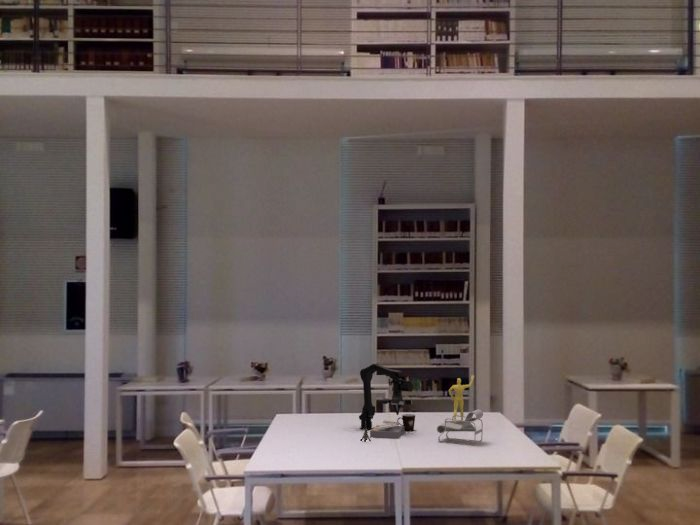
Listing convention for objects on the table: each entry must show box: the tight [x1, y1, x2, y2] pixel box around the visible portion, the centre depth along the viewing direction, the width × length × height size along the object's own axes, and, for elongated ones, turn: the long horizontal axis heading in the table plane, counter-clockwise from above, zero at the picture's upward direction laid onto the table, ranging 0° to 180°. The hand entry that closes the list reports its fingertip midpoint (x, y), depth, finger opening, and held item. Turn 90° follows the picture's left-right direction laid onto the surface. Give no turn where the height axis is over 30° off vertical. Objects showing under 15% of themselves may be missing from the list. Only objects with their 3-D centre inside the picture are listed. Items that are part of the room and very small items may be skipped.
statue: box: [446, 375, 475, 432], centre depth 531 cm, size 20×19×36 cm
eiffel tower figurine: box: [360, 422, 372, 443], centre depth 489 cm, size 15×10×13 cm
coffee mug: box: [396, 413, 416, 432], centre depth 524 cm, size 12×9×10 cm
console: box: [369, 424, 406, 440], centre depth 509 cm, size 18×22×5 cm
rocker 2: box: [379, 424, 397, 429], centre depth 502 cm, size 10×4×1 cm, turn 77°
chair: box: [436, 408, 484, 446], centre depth 486 cm, size 13×25×20 cm, turn 62°
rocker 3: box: [382, 419, 400, 426], centre depth 515 cm, size 10×4×1 cm, turn 76°
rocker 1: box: [380, 421, 398, 426], centre depth 509 cm, size 10×4×1 cm, turn 77°
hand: (397, 414), depth 515 cm, fingers closed
